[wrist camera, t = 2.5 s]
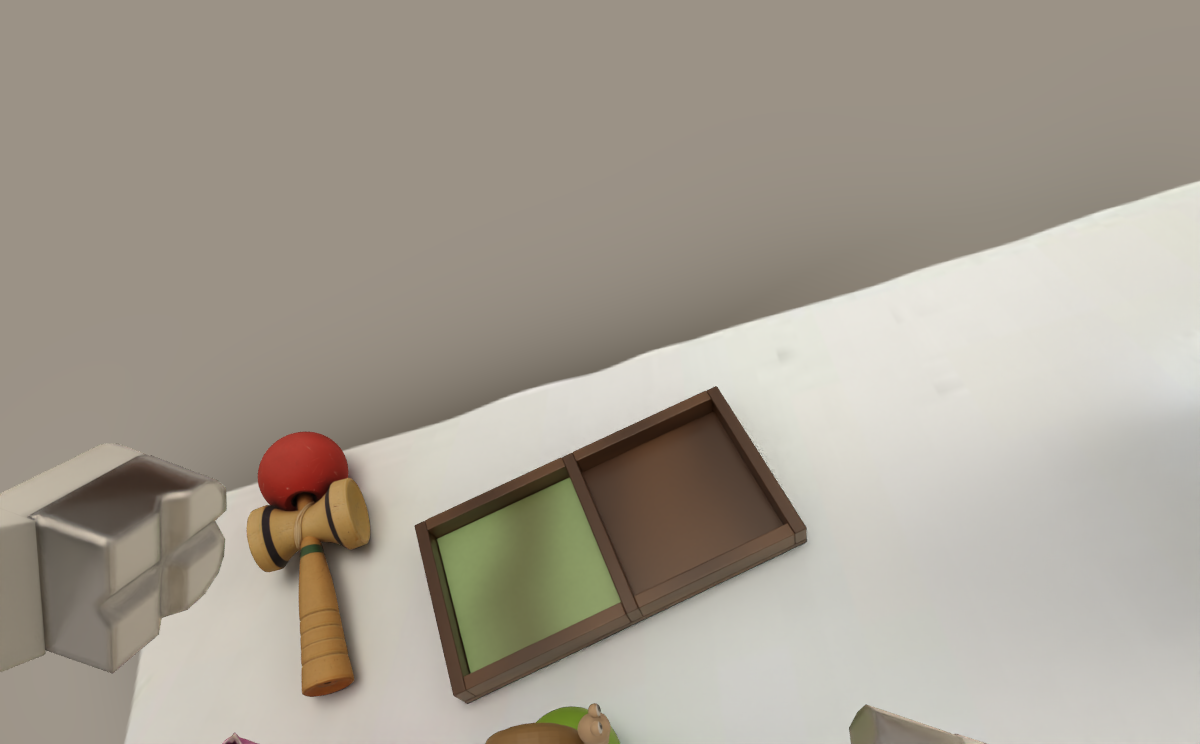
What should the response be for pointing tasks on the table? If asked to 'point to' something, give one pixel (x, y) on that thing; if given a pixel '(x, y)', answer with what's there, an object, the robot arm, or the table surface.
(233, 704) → the table surface
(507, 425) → the table surface
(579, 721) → the snail figurine
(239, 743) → the gum box
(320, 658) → the kendama
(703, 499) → the tray
